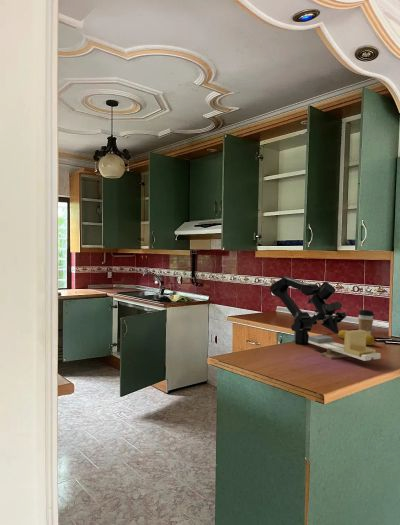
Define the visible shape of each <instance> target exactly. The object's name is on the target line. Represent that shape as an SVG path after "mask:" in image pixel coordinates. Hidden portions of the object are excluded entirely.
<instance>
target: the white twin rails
mask: <svg viewBox="0 0 400 525" xmlns="http://www.w3.org/2000/svg"><path fill="white" fill-rule="evenodd" d="M308 344H310V345H311V344H312V345H315V346H317V347H321V348H324V349H327V348H329V349H332V350H333V351H336V352H339V353H342V354H345V355H348V357H352V358H355V359H358V360H361V361H365V362H366V361H371V360H379V359H381V358H382V357H381V356H382V355H381V353H380V352H375V353H372V354H365V355H362V356H361V357H359V356H355V355H352V354H349V353H346V352H344V344H341V343H338V342H335V341H334V337H332V336H330V335H329V336H328V335H326V334H321V335H317V334H316V335H309V339H308Z"/></svg>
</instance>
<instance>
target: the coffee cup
mask: <svg viewBox="0 0 400 525" xmlns="http://www.w3.org/2000/svg"><path fill="white" fill-rule="evenodd" d="M357 314H358V330H364V331H367V332H366V334H370V335H371V336H372V330H373V329H372V328H373V322H374V316H375V314H374V311H373V310H368V309H359V310H358V313H357Z"/></svg>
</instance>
